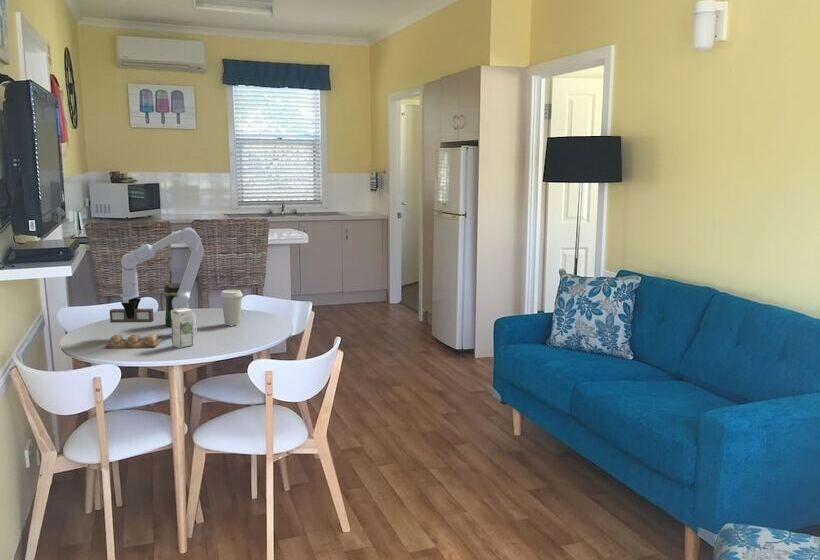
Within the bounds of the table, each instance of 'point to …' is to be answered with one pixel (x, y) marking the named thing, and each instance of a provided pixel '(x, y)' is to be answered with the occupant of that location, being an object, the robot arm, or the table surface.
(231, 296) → the coffee cup
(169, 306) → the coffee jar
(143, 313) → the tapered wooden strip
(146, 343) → the display stand
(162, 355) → the table surface
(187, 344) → the syrup box
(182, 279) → the robot arm
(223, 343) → the table surface
